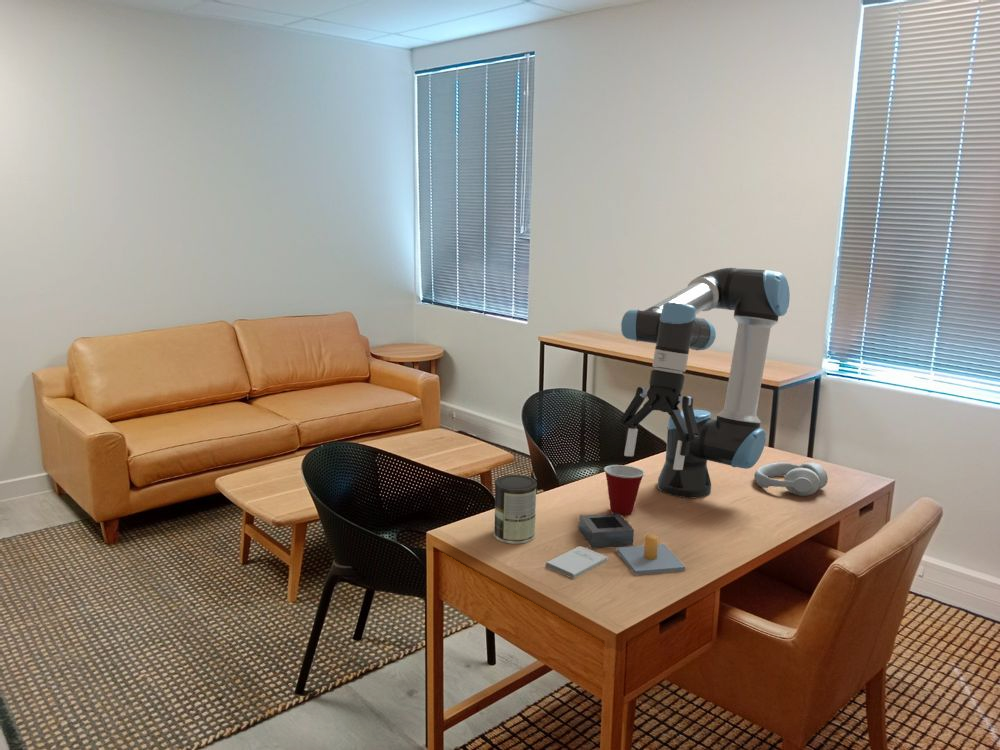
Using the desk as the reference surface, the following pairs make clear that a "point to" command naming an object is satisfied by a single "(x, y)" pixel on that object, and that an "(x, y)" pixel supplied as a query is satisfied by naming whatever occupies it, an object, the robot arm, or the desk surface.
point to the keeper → (650, 558)
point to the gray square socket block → (606, 530)
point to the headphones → (793, 477)
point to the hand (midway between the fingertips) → (652, 462)
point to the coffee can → (515, 508)
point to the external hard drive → (576, 562)
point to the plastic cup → (623, 487)
